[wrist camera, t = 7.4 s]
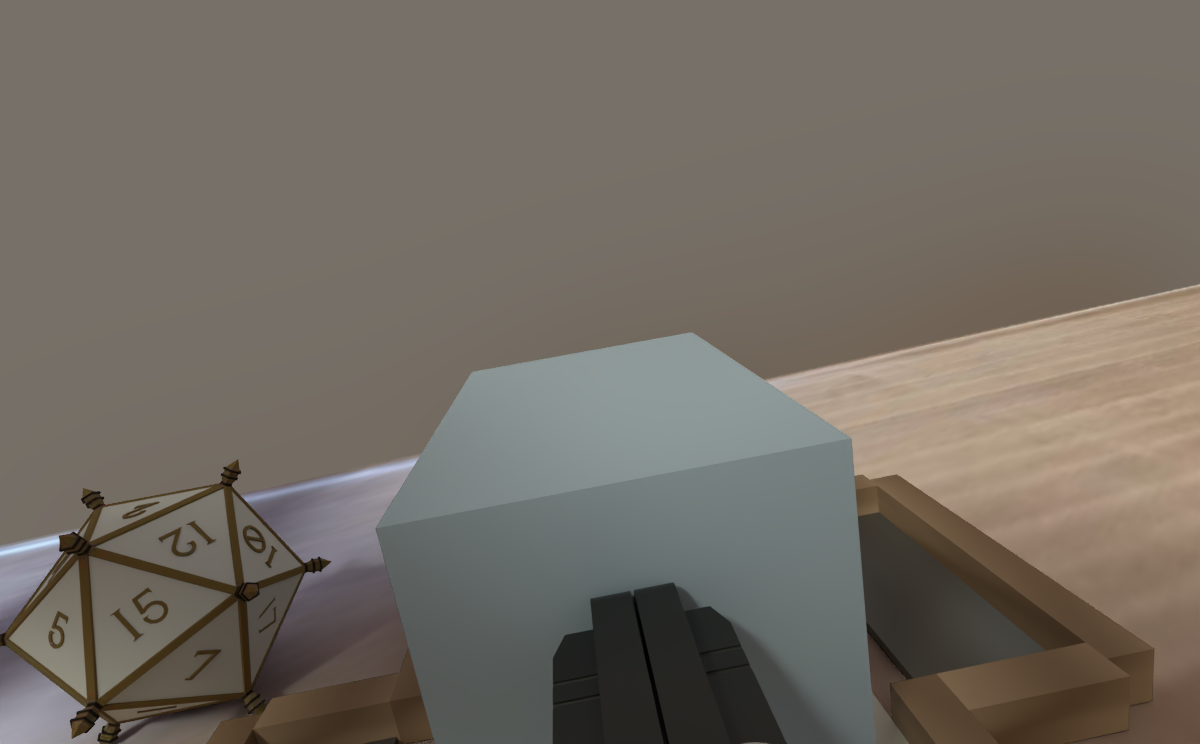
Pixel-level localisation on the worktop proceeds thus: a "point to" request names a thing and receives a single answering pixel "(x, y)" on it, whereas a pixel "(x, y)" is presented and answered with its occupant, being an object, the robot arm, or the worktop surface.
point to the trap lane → (899, 625)
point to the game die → (160, 606)
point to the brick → (628, 534)
